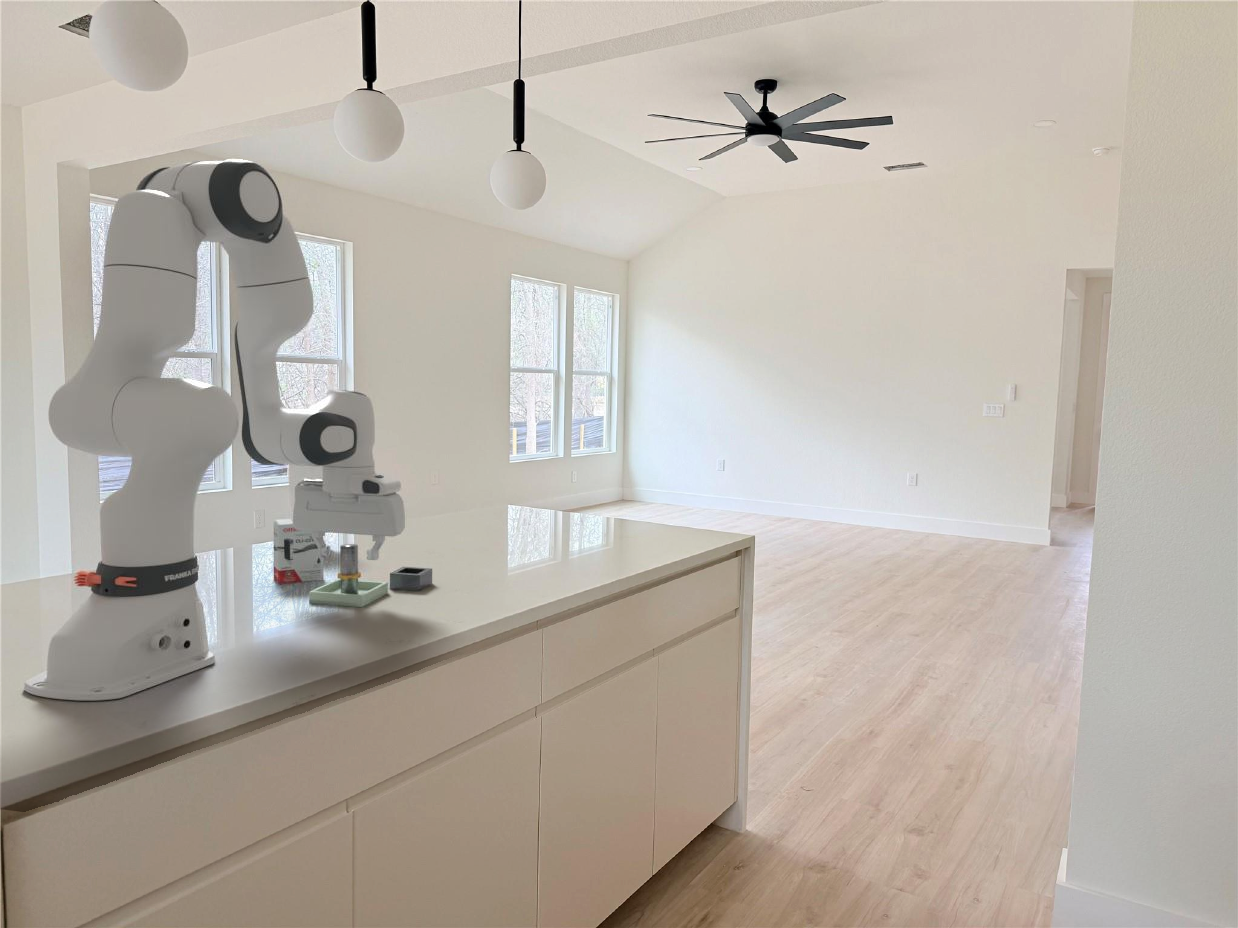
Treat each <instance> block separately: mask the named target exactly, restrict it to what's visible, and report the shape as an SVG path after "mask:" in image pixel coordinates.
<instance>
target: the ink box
mask: <svg viewBox="0 0 1238 928" xmlns="http://www.w3.org/2000/svg"><path fill="white" fill-rule="evenodd" d="M322 537H323V538H324V536H322ZM273 580H275V582H276V583H277V584H279V585H282V584H293V583H295V584H296V583H302V582H312V581H313V582H315V581H323V580H324V557H320V556H318V547H317V546H316V544H315V542H314V540H313V539H312V531H298V530H296V529H295V527H294V526H293V518H281V519H275V520H274V521H273Z"/></svg>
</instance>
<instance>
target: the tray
mask: <svg viewBox="0 0 1238 928" xmlns="http://www.w3.org/2000/svg"><path fill="white" fill-rule="evenodd" d="M388 585H389V583H388V581H387V582H386V581H384V582H383V581H373V580H359V579H358V594H345V593H341V579H339V578H336V579H334V580H332V581H330V582H328V583H325V584H324V585H321V586H319V587H316V588H314V589H312V590H310V591H309V592H308V595H309V596H308V602H309V604H317V605H319V604H320V605H331V606H341V607H342V606H344V607H345V606H346V607H358V608H363V607H365V606H366V605H368V604H370V603H373V602H374V601H376V600H377V599H379V598H381V597H383V596H385V595H387V594H389V586H388Z"/></svg>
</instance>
